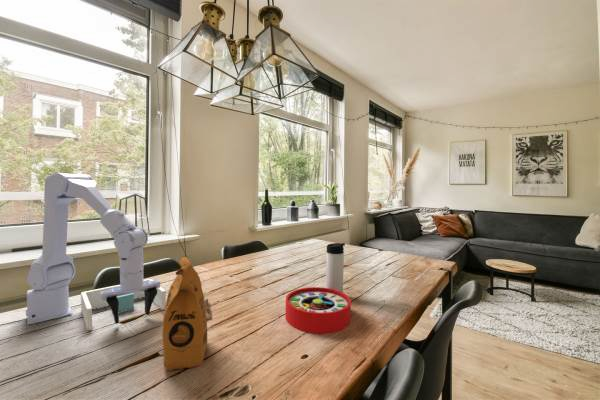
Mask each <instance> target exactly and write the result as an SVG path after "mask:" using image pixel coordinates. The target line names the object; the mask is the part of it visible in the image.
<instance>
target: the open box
mask: <svg viewBox="0 0 600 400" xmlns="http://www.w3.org/2000/svg"><path fill="white" fill-rule="evenodd" d="M147 281H155V280H154V279H152V278H148V279H143V282H147ZM119 286H120V284H118V285H112V286H106V287H102V288H97V289H91V290H86V291H81V293H80V295H81V296H80V298H81V299H80V301H81V303H80V304H81V313H82V317H83V320H84V321H83V322H84V324H85V327H86V331H88V332H89V331H92V330H93V310H96V308H97V309H101V308H105V306H106V307H110V306H109V304H108V303H107V301H106V300H103V301H102V300H101V292H102V291H106V290H109V289H113V288H116V287H119ZM156 289H157V295H156V296H155V298H154V300H153V302H154V303H155V304H156V306H158V307H159V308H160V309H161V310H162V311H163V310H165V305H166V300H167V296H166V294H167V293H166V290H165V288H163V287H161V285H160V288H156ZM133 294H134V299H135V300H138V299H137V298H139V299H143V298H142V297H144V298H145V293H144V291H140V292H135V293H133ZM100 307H101V308H100ZM92 309H93V310H92Z"/></svg>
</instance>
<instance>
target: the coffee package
mask: <svg viewBox="0 0 600 400" xmlns="http://www.w3.org/2000/svg"><path fill="white" fill-rule="evenodd" d="M179 265H180V268H179V269H178V270H177V271H175V276H176V277H174V279H173V281H172V283H171V284H170V286H169V290H168V293H167V296H166V305H165V309H164V311H163V318H162V330H161V331H162V332H161V333H162V334H161V335H162V347H163V366H164V368H165V369H166V371H172V370H182V369H185V368H188V369H189V368H190V369H192V368H194V367H198V366H201V365H202V364H203V361H204V358H205V351H206V349H207V347H208V321H207V320H208V319H206V308H205V300H206V299H205V296H204V293H203V287H202V282H201V278H200V276H199V273H198V272H197V271H196V269H195V268H194V267H193V265H192V264H191V261H190V260H189V259H188V258H187V257H186V256H185V257H183V258H181V259H180V261H179Z"/></svg>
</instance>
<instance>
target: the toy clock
mask: <svg viewBox="0 0 600 400" xmlns="http://www.w3.org/2000/svg"><path fill="white" fill-rule="evenodd" d="M351 303H352V300H351V298H350V297H349V296H348V295H347V294H346V293H344V292H343V293H342V292H340V291H337V290H334V289H329V288H326V287H320V286H309V287H303V288H302V287H301V288H299V289H295V290H293V291H291V292H289V293H288V294H287V295H286V296H285V321H286V322H287V324H288V325H289V326H291V327H292V328H294V329H296V330H298V331H301V332H303V333H310V334H316V335H318V334H319V335H324V334H325V335H326V334H334V333H337V332H338V333H339V332H340V331H342V330H344V329H346V328H347V327H348V326H349V325H350V323H351V311H352V310H351V309H352V308H351V307H352V306H351V305H352V304H351Z"/></svg>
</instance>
